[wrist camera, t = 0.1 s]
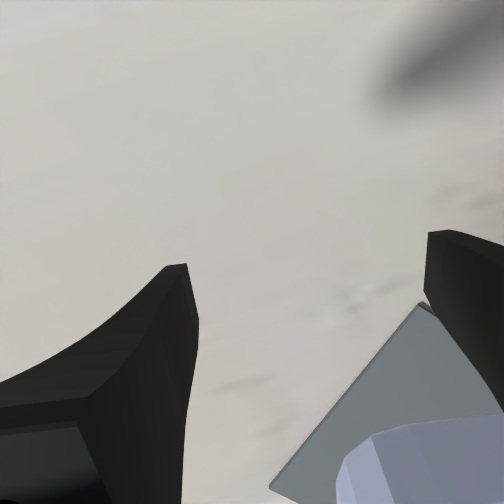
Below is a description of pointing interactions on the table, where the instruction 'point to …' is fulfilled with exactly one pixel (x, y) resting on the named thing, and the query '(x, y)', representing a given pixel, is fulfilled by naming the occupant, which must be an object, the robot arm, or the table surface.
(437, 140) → the table surface
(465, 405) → the charcoal mat
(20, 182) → the table surface
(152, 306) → the robot arm
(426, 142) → the table surface
